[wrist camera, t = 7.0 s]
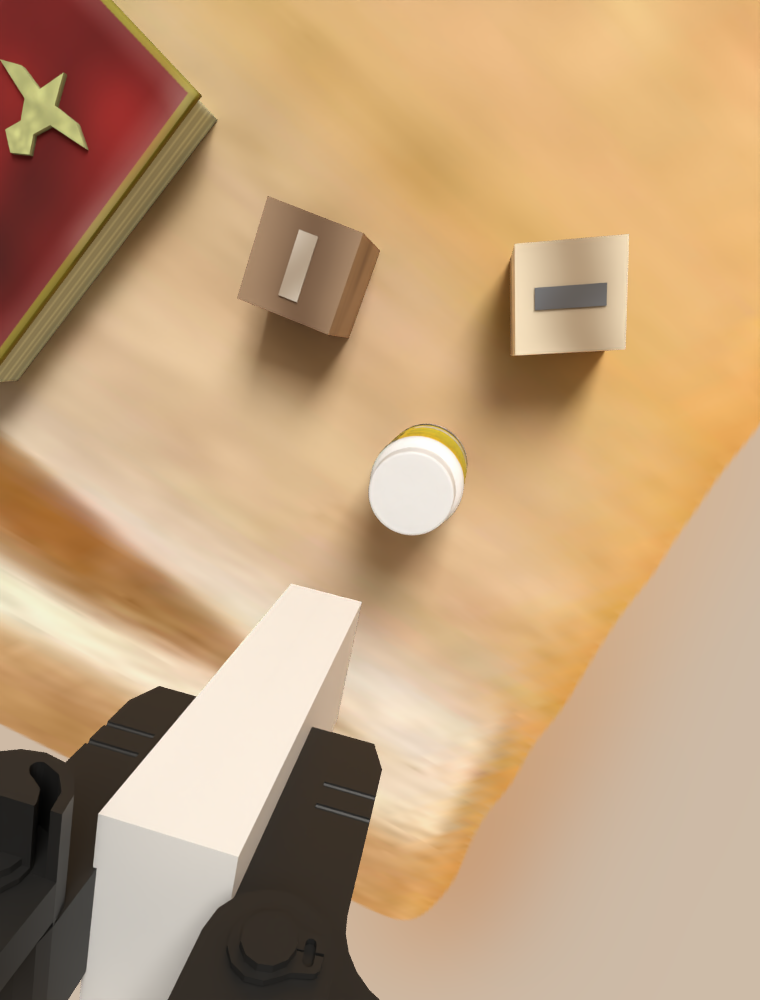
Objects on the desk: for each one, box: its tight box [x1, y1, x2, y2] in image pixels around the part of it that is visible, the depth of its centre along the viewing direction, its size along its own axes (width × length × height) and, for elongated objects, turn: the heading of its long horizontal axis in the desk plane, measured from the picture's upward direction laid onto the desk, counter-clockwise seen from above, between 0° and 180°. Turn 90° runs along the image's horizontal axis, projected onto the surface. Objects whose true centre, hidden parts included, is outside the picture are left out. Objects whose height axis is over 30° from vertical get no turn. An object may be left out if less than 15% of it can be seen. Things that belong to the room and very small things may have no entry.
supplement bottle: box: [369, 424, 467, 535], centre depth 32 cm, size 5×5×8 cm
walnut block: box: [237, 196, 380, 338], centre depth 32 cm, size 5×5×5 cm
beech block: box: [510, 234, 629, 356], centre depth 31 cm, size 5×5×5 cm
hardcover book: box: [0, 0, 217, 382], centre depth 35 cm, size 12×21×4 cm, turn 134°
